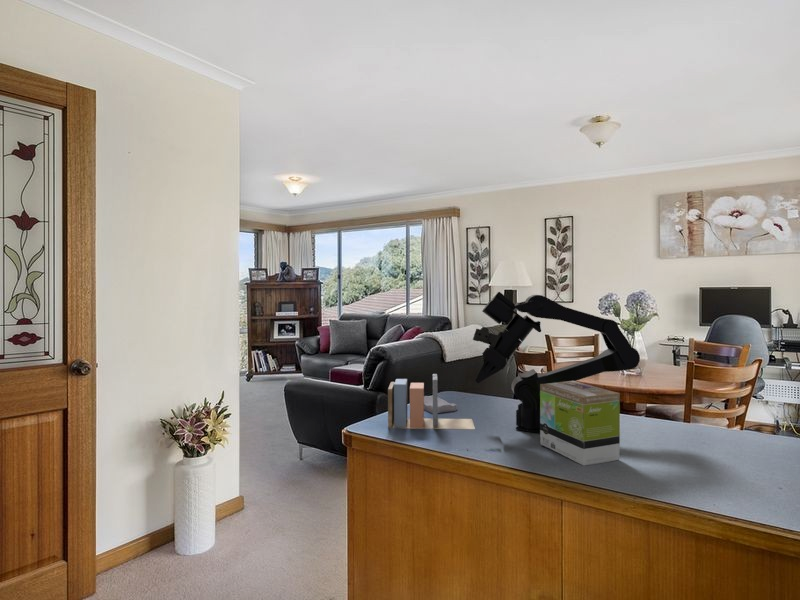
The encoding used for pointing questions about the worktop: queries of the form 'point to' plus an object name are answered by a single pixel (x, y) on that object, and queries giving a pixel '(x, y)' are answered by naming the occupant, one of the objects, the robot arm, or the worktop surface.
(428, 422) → the wooden book rack
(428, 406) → the stone block
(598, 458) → the tea box
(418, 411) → the book
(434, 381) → the grey flat rectangular panel
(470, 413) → the worktop surface
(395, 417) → the book
